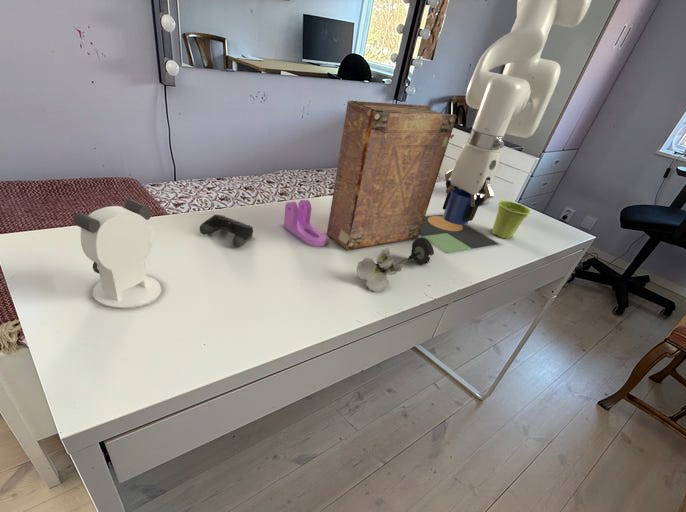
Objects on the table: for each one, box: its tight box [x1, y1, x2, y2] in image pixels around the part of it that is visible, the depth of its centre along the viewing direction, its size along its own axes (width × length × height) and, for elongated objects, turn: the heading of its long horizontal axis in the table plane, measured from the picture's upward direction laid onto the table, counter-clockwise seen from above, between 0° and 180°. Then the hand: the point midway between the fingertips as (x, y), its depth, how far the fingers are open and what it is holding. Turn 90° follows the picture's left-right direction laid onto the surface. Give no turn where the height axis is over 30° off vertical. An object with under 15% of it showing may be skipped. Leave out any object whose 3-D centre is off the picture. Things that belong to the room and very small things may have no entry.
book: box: [326, 100, 457, 251], centre depth 96 cm, size 25×9×30 cm, turn 123°
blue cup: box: [442, 189, 477, 225], centre depth 103 cm, size 7×7×7 cm
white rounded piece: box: [73, 198, 162, 310], centre depth 67 cm, size 12×11×15 cm
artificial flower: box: [356, 237, 435, 293], centre depth 89 cm, size 9×22×10 cm, turn 130°
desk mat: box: [419, 214, 499, 253], centre depth 116 cm, size 22×22×1 cm
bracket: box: [283, 199, 328, 247], centre depth 98 cm, size 13×6×7 cm, turn 38°
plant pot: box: [491, 200, 532, 240], centre depth 118 cm, size 9×9×9 cm
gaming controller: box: [198, 214, 254, 248], centre depth 92 cm, size 12×8×5 cm, turn 63°
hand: (457, 214), depth 105 cm, fingers closed on blue cup, 7 cm apart
